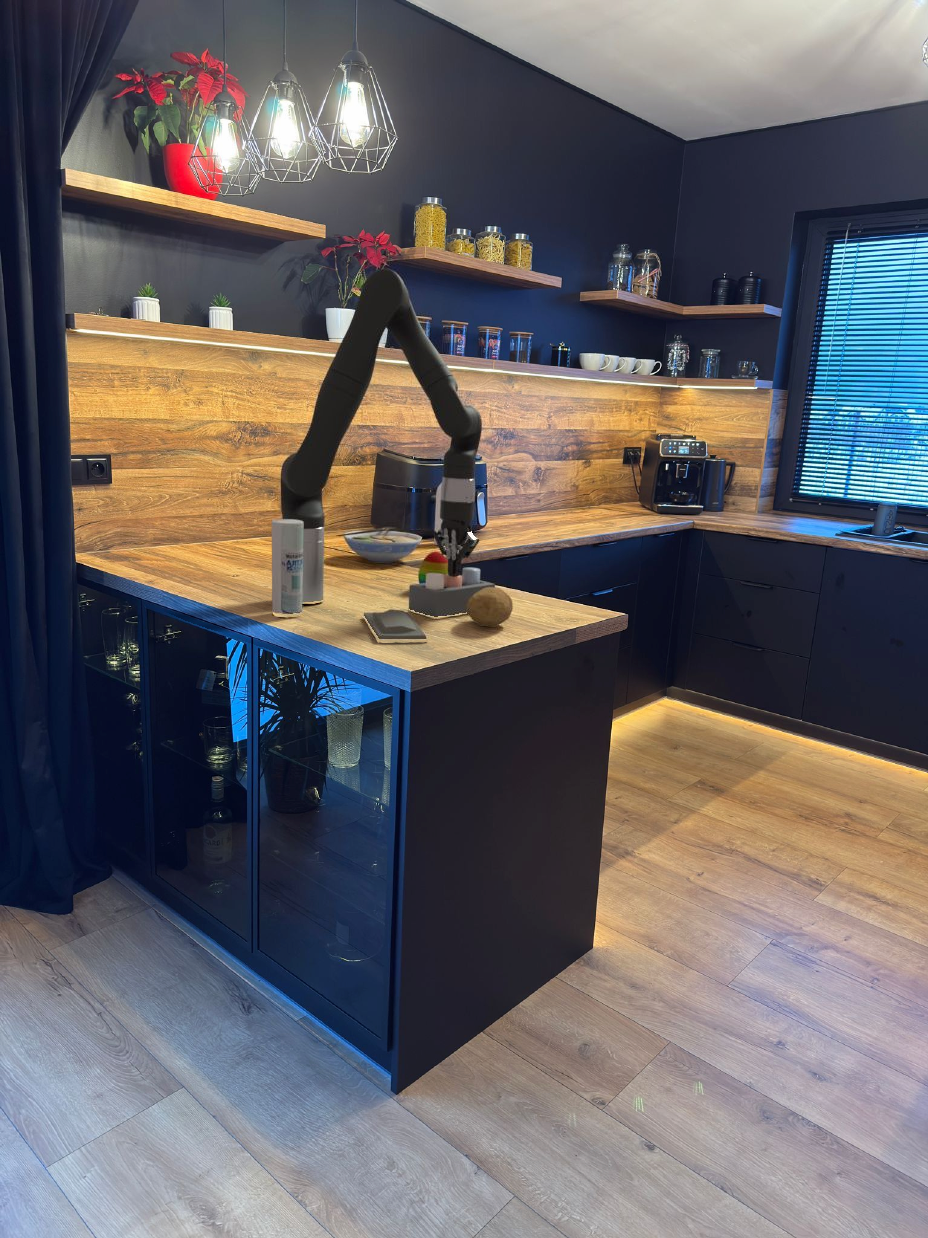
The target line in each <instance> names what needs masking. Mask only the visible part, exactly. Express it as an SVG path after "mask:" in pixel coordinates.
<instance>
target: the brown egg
mask: <svg viewBox="0 0 928 1238" xmlns="http://www.w3.org/2000/svg"><path fill="white" fill-rule="evenodd" d="M444 585H445V586H449V587H459V586H462V574H461V575H459V576H455V577H453V576H449V575H448V574H447V575H445V578H444Z"/></svg>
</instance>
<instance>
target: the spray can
mask: <svg viewBox="0 0 928 1238" xmlns="http://www.w3.org/2000/svg"><path fill="white" fill-rule="evenodd" d="M303 527H304V523H303V521H301V520H294V519H282V518H278V519H273V520H271V612H272V611H273V612H275V613H282V614H293V613H300V612H302V613H303V605H302V585H303Z"/></svg>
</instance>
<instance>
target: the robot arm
mask: <svg viewBox="0 0 928 1238" xmlns="http://www.w3.org/2000/svg"><path fill="white" fill-rule="evenodd" d="M414 309H415V308H414V306H413V304H412V301H411V299H410V293H409V290H408V289H407V286H406V284H405V283H404V280H403V279H402V277H401V276H400V275H399V274H398V273H397V272H396V271H394V270H393V269H390V268H380V269H376V270H375V271H373V272H372V273H371V274H370V275H369V276H368V277H367V278H366V280H365V282H364V283H363V285H362V288H361V292H360V294H359V297H358V300H357V304H356V306H355V310H354V312H353V316H352V317H351V318H352V319H351V320H350V324H349V326H348V328H347V330H346V332H345V335H343V338H342V340H341V342H340V344H339V346H338V349H337V351H336V353H335V355H334V357H333V359H332V361H331V363H330V365H329V368H328V370H327V371H326V374H325V377H324V379H323V381H322V383H321V385H320V388H319V390H318V394H317V397H316V401H315V404H314V405H315V406H314V409H313V415H312V420H311V423H310V426H309V428H308V431H307V433H306V435H305V437H304V438H303V440H302V443H301V444H300V446H299V448H298V450H297V451H296V452H293V453H292V454H290V455H288V456H287V457H286V458H285V460H284V461H283V463H282V466H281V469H280V511H281V519H294V520H301V521H303V523H304V527H303V585H302V602H314V601H321V600H323V601H324V581H325V580H324V579H325V578H324V572H325V571H324V569H325V568H324V566H325V562H324V561H325V512H324V507H323V506H324V505H323V490H324V488H325V486H326V485H327V483H328V480H329V476H330V475H331V474H330V473H331V470H332V467H333V464H334V462H335V458H336V455H337V452H338V450H339V447H340V445H341V442H342V440H343V439H344V436H345V435H346V433H347V431H348V429H349V428H350V426H351V424H352V422H353V420H354V419H355V416H356V414H357V412H358V411H359V408H360V406H361V404H362V402H363V399H364V398H365V396H366V393H367V391H368V389H369V386H370V384H371V380H372V378H373V374H374V370H375V369H374V368H375V365H376V361H377V354H378V351H379V350H378V349H379V345H380V342H381V340H382V337H383V334H384V332H385V330H387V331H388V332H389V333H390V334H391V336H392V337H393V338H394V339H395V342H396V343H397V345H399V348H400V349H401V350H402V352H403V355H404V356H405V358H406V359H405V360H406V361H407V363H408V366H409V367H410V368H411V371H412V373H413V374H414V377H415V379H416V380H417V382H418V384H419V385H420V386H421V389H422V390H423V392H424V394H425V395H426V396H427V398H428V399H429V403H430V406H431V409H432V412H433V414H434V417H435V419H436V422H437V423H438V425H439V427H440V429H441V430H442V432H443V433H444V434H445V435H446V436H448V437H449V438H451V440H450V446H449V449H448V450H447V451H446V452H445V453H444V456H443V460H442V461H443V463H442V480H441V481H442V482H441V483H442V485H441V501H440V518H441V519H442V520H443V521H442V524H441V529H439V530H438V531H435V530H434V531H433V533H432V535H433V537H434V538H435V540H436V542H437V544H438V546H437V547H438V549H439V552H440V553H441V554H442V555H444V556H446V559H447V561H448V575H449V576H453V577H455V576H459V575H460V574H461V573H462V570H461V569H462V560H463V559H468V558H469V557H470V556H471V554H472V553H473V551H474V550H475V548H476V547H477V546H478V544H479V543H480V538H479V537H475V536H474V534H473V533H472V532H473V528H472V521H473V520H474V518H475V498H476V483H475V482H476V481H475V479H476V457H477V453H478V450H479V446H480V442H481V437H482V431H483V430H482V428H483V422H482V417H481V414H480V412H479V410H477V409H476V408H475V406H472V405H466V404H464V403H463V402H462V400H461V399H460V396H459V394H458V389H459V387H458V386H459V385H458V383H457V381H456V378H455V377H454V375H453V373H452V372H451V370H450V369H449V367H448V365H447V364H446V362H445V360H444V359H443V357H442V355H441V354H440V352H439V351H438V349H436V347H435V346H434V344H433V343H432V341H431V340H430V339H429V337H428V336H427V334H426V333H425V330H424V329H423V327H422V325H421V323H420V321H419V319H418V317H417V314H416V312H415V310H414ZM444 546H445V547H444Z"/></svg>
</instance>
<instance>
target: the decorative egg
mask: <svg viewBox="0 0 928 1238" xmlns="http://www.w3.org/2000/svg"><path fill="white" fill-rule="evenodd" d="M428 573H440V574H444V578H445V575H447V574H448V559H447V557H445V555H442V554H441V552H440V551H431V552H429V553H428V554H427V555H426V556H425V557H424V558H423V560H422V562H421V563H420V566H419V570H418V577H417V578H418V584H421V583H426V574H428Z"/></svg>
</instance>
